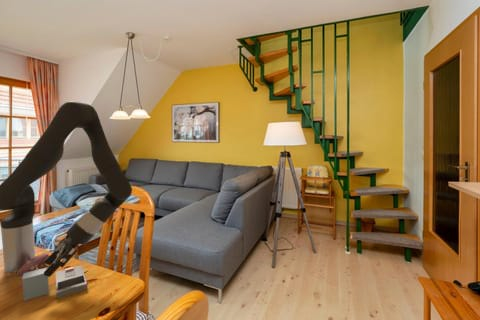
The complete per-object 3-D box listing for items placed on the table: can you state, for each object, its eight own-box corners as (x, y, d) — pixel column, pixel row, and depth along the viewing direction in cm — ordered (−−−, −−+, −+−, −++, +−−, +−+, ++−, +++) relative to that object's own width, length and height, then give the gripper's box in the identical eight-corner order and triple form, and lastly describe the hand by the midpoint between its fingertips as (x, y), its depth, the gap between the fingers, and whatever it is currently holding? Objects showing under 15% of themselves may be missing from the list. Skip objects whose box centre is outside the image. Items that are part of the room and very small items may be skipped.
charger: (25, 298, 77) (23, 273, 77) (49, 291, 81) (47, 267, 80) (24, 305, 74) (22, 279, 74) (48, 297, 78) (47, 272, 77)
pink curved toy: (23, 281, 89) (29, 266, 88) (14, 275, 90) (20, 259, 89) (49, 267, 99) (55, 253, 98) (40, 262, 100) (46, 247, 98)
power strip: (56, 281, 87) (55, 270, 86) (82, 273, 92) (82, 263, 91) (57, 303, 75) (56, 291, 75) (87, 293, 80) (86, 281, 80)
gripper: (75, 216, 88) (36, 255, 82) (78, 227, 77) (33, 274, 71) (92, 227, 92) (56, 265, 86) (98, 239, 81) (57, 284, 75)
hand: (46, 269), depth 78 cm, fingers open, 8 cm apart
